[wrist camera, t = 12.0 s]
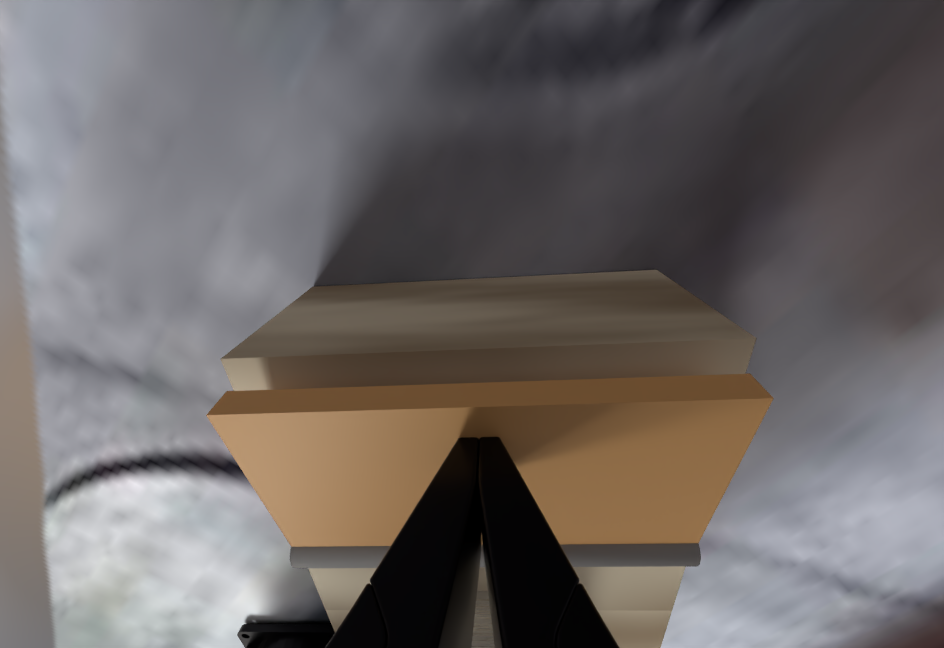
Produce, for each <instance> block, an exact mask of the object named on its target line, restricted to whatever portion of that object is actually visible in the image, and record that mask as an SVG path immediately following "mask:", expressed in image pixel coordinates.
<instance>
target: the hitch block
mask: <svg viewBox="0 0 944 648" xmlns="http://www.w3.org/2000/svg"><path fill="white" fill-rule="evenodd" d="M755 341H756V338H755V337H754V336H752V335H751V334H750V333H748V332H747V331H745V330H744V329H742V328H741V327H739V326H738V325H736V324H735V323H734V322H732V321H731V320H729V319H728V318H726V317H725V316H723V315H722V314H720V313H719V312H717V311H716V310H715V309H713V308H712V307H710V306H709V305H707V304H706V303H704V302H703V301H701V300H700V299H699V298H697V297H696V296H694V295H693V294H691V293H690V292H688V291H687V290H685V289H684V288H683V287H681V286H680V285H678V284H677V283H675V282H674V281H672V280H671V279H669V278H668V277H666V276H665V275H664V274H662V273H661V272H659V271H658V270H640V271H620V272H599V273H579V274H559V275H539V276H519V277H499V278H478V279H458V280H438V281H418V282H398V283H377V284H357V285H337V286H317V287H312V288H310V289H309V290H308V291H307V292H305V293H304V294H303V295H301V296H300V297H299V298H298V299H296V300H295V301H294V302H293V303H291V304H290V305H289V306H287V307H286V308H285V309H284V310H282V311H281V312H280V313H279V314H277V315H276V316H275V317H273V318H272V319H271V320H270V321H268V322H267V323H266V324H265V325H263V326H262V327H261V328H259V329H258V330H257V331H256V332H254V333H253V334H252V335H251V336H249V337H248V338H247V339H245V340H244V341H243V342H242V343H240V344H239V345H238V346H236V347H235V348H234V349H233V350H231V351H230V352H229V353H228V354H226V355H225V356H224V357H222V358H221V361H222V364H223V366H224V368H225V371H226V373H227V375H228V378H229V380H230V383H231V385H232V387H233V390H234V391H248V390H278V389H308V388H337V387H367V386H397V385H427V384H457V383H486V382H516V381H546V380H576V379H606V378H636V377H665V376H695V375H725V374H745V373H746V370H747V367H748V364H749V361H750V357H751V354H752V351H753V348H754V344H755ZM685 567H686V566H667V567H573V568H574V570H575V572H576V574H577V576H578V577H579V580H580V581H579V583H581V584H583V586H584V588H585V589H586V591H587V593H588V595H589V596H590V598H591V600H592V602H593V604H594V605H595V607H596V609H597V610H598V612H599V614H600V615H601V617H602V619H603V621H604V622H605V624H606V626H607V627H608V629H609V631H610V632H611V634H612V636H613V637H614V639H615V641H616V642H617V644H618V646H619V647H620V648H660V647H661V644H662V641H663V638H664V634H665V631H666V628H667V625H668V622H669V618H670V615H671V612H672V609H673V605H674V602H675V599H676V596H677V593H678V589H679V586H680V583H681V580H682V576H683V573H684V570H685ZM308 569H309V572H310V574H311V576H312V579H313V581H314V584H315V586H316V588H317V591H318V593H319V595H320V598H321V600H322V603H323V605H324V607H325V610H326V612H327V615H328V617H329V619H330V622H331V624H332V627H333V629H334V631H335V632H336V631H337V629H338V628H339V626H340V625H341V623H342V622H343V620H344V619H345V617H346V616H347V614H348V613H349V611H350V610H351V608H352V607H353V605H354V603H355V602H356V600H357V599H358V597H359V595H360V594H361V592H362V591H363V589H364V587H365V586H366V584H368V583H370V578H371V577H372V575H373V573H374V572H375V570H376V569H377V568H308ZM370 584H371V583H370ZM477 591H488V588H487V580H486V571H485V567H480V569H479V578H478V588H477Z"/></svg>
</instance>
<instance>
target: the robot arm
mask: <svg viewBox="0 0 944 648" xmlns="http://www.w3.org/2000/svg"><path fill="white" fill-rule="evenodd" d="M482 543H483V554H484V563H485V571H486V580H487V588H488V596H489V604H490V612H491V621H492V629H493V637H494V645H495V648H620V647H619V646H618V644H617V642H616V641H615V639H614V637H613V636H612V634H611V632H610V631H609V629H608V627H607V626H606V624H605V622H604V621H603V619H602V617H601V615H600V614H599V612H598V610H597V609H596V607H595V605H594V604H593V602H592V600H591V598H590V596H589V595H588V593H587V591H586V589H585V588H584V586H583V584H581V583H579V581H580V580H579V577H578V576H577V574H576V572H575V570H574V568H573V567H572V565H571V563H570V561H569V560H568V558H567V556H566V554H565V552H564V551H563V549H562V547H561V545H560V544H559V542H558V540H557V538H556V536H555V535H554V533H553V531H552V529H551V528H550V526H549V524H548V522H547V520H546V519H545V517H544V515H543V513H542V512H541V510H540V508H539V506H538V504H537V503H536V501H535V499H534V497H533V496H532V494H531V492H530V490H529V488H528V487H527V485H526V483H525V481H524V479H523V478H522V476H521V474H520V472H519V471H518V469H517V467H516V465H515V463H514V462H513V460H512V458H511V456H510V455H509V453H508V451H507V449H506V447H505V446H504V444H503V442H502V440H501V439H500V437H481V438H480V439H478V438H477V437H462V438H458V440H457V441H456V443H455V444H454V446H453V448H452V449H451V451H450V452H449V454H448V456H447V457H446V459H445V460H444V462H443V463H442V465H441V467H440V468H439V470H438V471H437V473H436V475H435V476H434V478H433V479H432V481H431V483H430V484H429V486H428V487H427V489H426V491H425V492H424V494H423V495H422V497H421V499H420V500H419V502H418V503H417V505H416V506H415V508H414V510H413V511H412V513H411V514H410V516H409V518H408V519H407V521H406V522H405V524H404V526H403V527H402V529H401V530H400V532H399V534H398V535H397V537H396V538H395V540H394V542H393V543H392V545H391V546H390V548H389V549H388V551H387V553H386V554H385V556H384V557H383V559H382V561H381V562H380V564H379V565H378V567H377V569H376V570H375V572H374V573H373V575H372V577H371V578H370V583H371V584H370V583H368V584H366V586H365V587H364V589H363V591H362V592H361V594H360V595H359V597H358V599H357V600H356V602H355V603H354V605H353V607H352V608H351V610H350V611H349V613H348V614H347V616H346V617H345V619H344V620H343V622H342V623H341V625H340V626H339V628H338V629H337V631H336V632H335V631H334V629H333V627H332V625H325V624H244V625H242V627H241V629H240V631H239V632H238V634H237V635H238V637H239V639H240V640H241V642H242V643H243V645H244V647H245V648H471V646H472V636H473V627H474V617H475V607H476V598H477V588H478V578H479V569H480V559H481V547H482Z"/></svg>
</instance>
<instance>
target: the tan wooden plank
mask: <svg viewBox="0 0 944 648" xmlns="http://www.w3.org/2000/svg"><path fill="white" fill-rule="evenodd" d="M772 400H773V397H772V396H771V395H770V394H769V393H768V392H767V391H766V390H765V389H764V388H763V387H762V386H761V385H760V384H759V383H758V382H757V380H756V379H755V378H754V377H753V376H752V375H751V374H725V375H695V376H665V377H636V378H606V379H576V380H546V381H516V382H486V383H457V384H427V385H397V386H367V387H337V388H308V389H278V390H248V391H227V392H226V393H225V394H224V395H223V396H222V397H221V399H220V400H219V401H218V402H217V403H216V404H215V406H214V407H213V408H212V409H211V410H210V411H209V413H208V414H207V415H206V416H207V417H208V419H209V420H210V422H211V423H212V425H213V426H214V428H215V430H216V431H217V433H218V434H219V436H220V437H221V439H222V440H223V442H224V443H225V445H226V446H227V448H228V450H229V451H230V453H231V454H232V456H233V457H234V459H235V460H236V462H237V463H238V465H239V467H240V468H241V470H242V471H243V473H244V474H245V476H246V477H247V479H248V480H249V482H250V484H251V485H252V487H253V488H254V490H255V491H256V493H257V494H258V496H259V497H260V499H261V501H262V502H263V504H264V505H265V507H266V508H267V510H268V511H269V513H270V514H271V516H272V517H273V519H274V521H275V522H276V524H277V525H278V527H279V528H280V530H281V531H282V533H283V534H284V536H285V538H286V539H287V541H288V542H289V544H290V545H291V553H290V562H291V565H292V567H293V568H377V567H378V565H379V564H380V562H381V561H382V559H383V557H384V556H385V554H386V553H387V551H388V549H389V548H390V546H391V545H392V543H393V542H394V540H395V538H396V537H397V535H398V534H399V532H400V530H401V529H402V527H403V526H404V524H405V522H406V521H407V519H408V518H409V516H410V514H411V513H412V511H413V510H414V508H415V506H416V505H417V503H418V502H419V500H420V499H421V497H422V495H423V494H424V492H425V491H426V489H427V487H428V486H429V484H430V483H431V481H432V479H433V478H434V476H435V475H436V473H437V471H438V470H439V468H440V467H441V465H442V463H443V462H444V460H445V459H446V457H447V456H448V454H449V452H450V451H451V449H452V448H453V446H454V444H455V443H456V441H457V440H458V438H462V437H477V438H478V439H480V438H481V437H500V439H501V440H502V442H503V444H504V446H505V447H506V449H507V451H508V453H509V455H510V456H511V458H512V460H513V462H514V463H515V465H516V467H517V469H518V471H519V472H520V474H521V476H522V478H523V479H524V481H525V483H526V485H527V487H528V488H529V490H530V492H531V494H532V496H533V497H534V499H535V501H536V503H537V504H538V506H539V508H540V510H541V512H542V513H543V515H544V517H545V519H546V520H547V522H548V524H549V526H550V528H551V529H552V531H553V533H554V535H555V536H556V538H557V540H558V542H559V544H560V545H561V547H562V549H563V551H564V552H565V554H566V556H567V558H568V560H569V561H570V563H571V565H572V567H667V566H698V565H699V564H700V560H701V555H700V548H699V544H698V543H699V541H700V539H701V537H702V535H703V533H704V531H705V529H706V527H707V526H708V524H709V522H710V520H711V518H712V516H713V514H714V512H715V510H716V508H717V506H718V504H719V502H720V501H721V499H722V497H723V495H724V493H725V491H726V489H727V487H728V485H729V483H730V481H731V479H732V477H733V475H734V474H735V472H736V470H737V468H738V466H739V464H740V462H741V460H742V458H743V456H744V454H745V452H746V450H747V449H748V447H749V445H750V443H751V441H752V439H753V437H754V435H755V433H756V431H757V429H758V427H759V425H760V423H761V422H762V420H763V418H764V416H765V414H766V412H767V410H768V408H769V406H770V404H771V402H772ZM480 567H485V563H484V554H483V543H482V547H481V559H480Z"/></svg>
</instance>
